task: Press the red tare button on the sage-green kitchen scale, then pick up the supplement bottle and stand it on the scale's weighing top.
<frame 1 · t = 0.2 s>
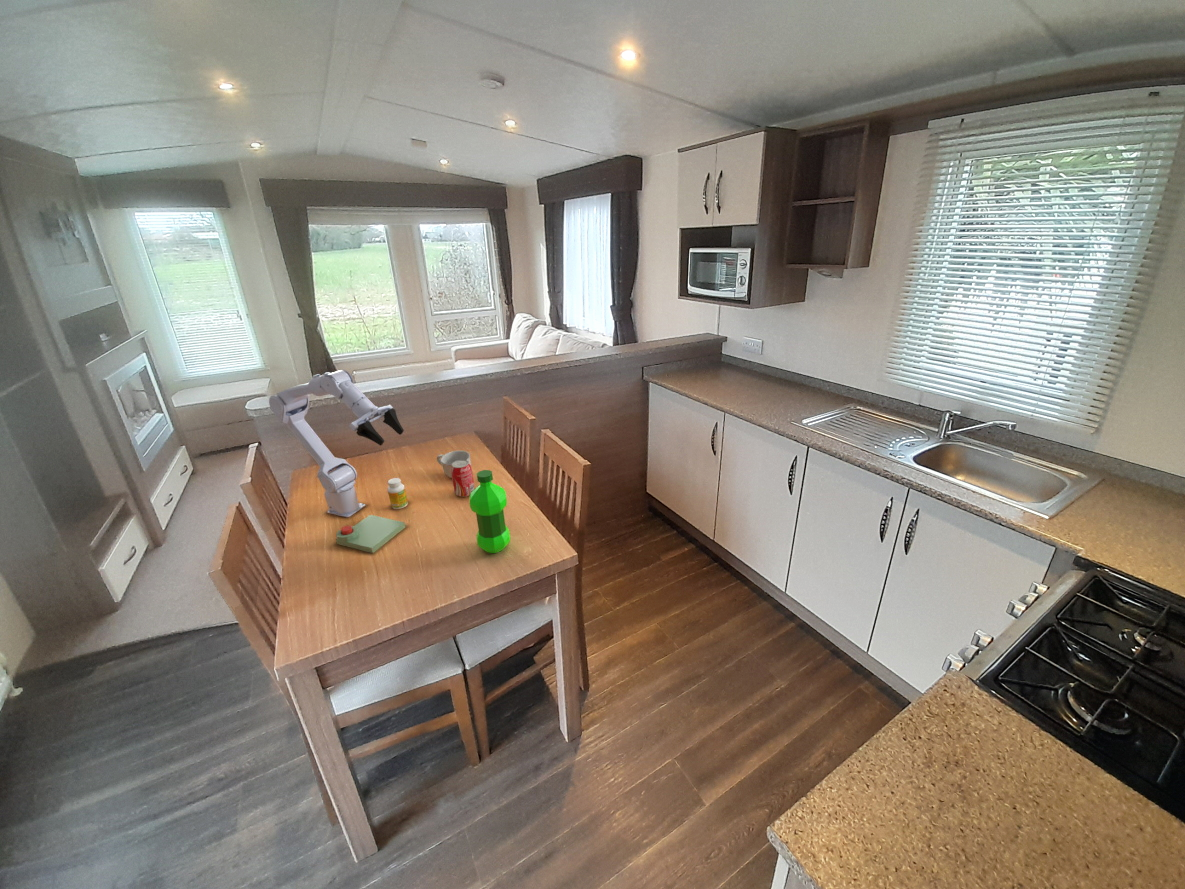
hand: (392, 437, 139), 31 cm above the table, tool tilted 45°, fingers open, 7 cm apart
supplement bottle: (400, 505, 164), on the table
plastic bottle: (495, 548, 141), on the table
tare button: (346, 530, 144), point 4 cm above the table, slide at 0.1 cm
soda can: (465, 493, 170), on the table
scale: (372, 535, 148), on the table
teacup: (455, 474, 183), on the table
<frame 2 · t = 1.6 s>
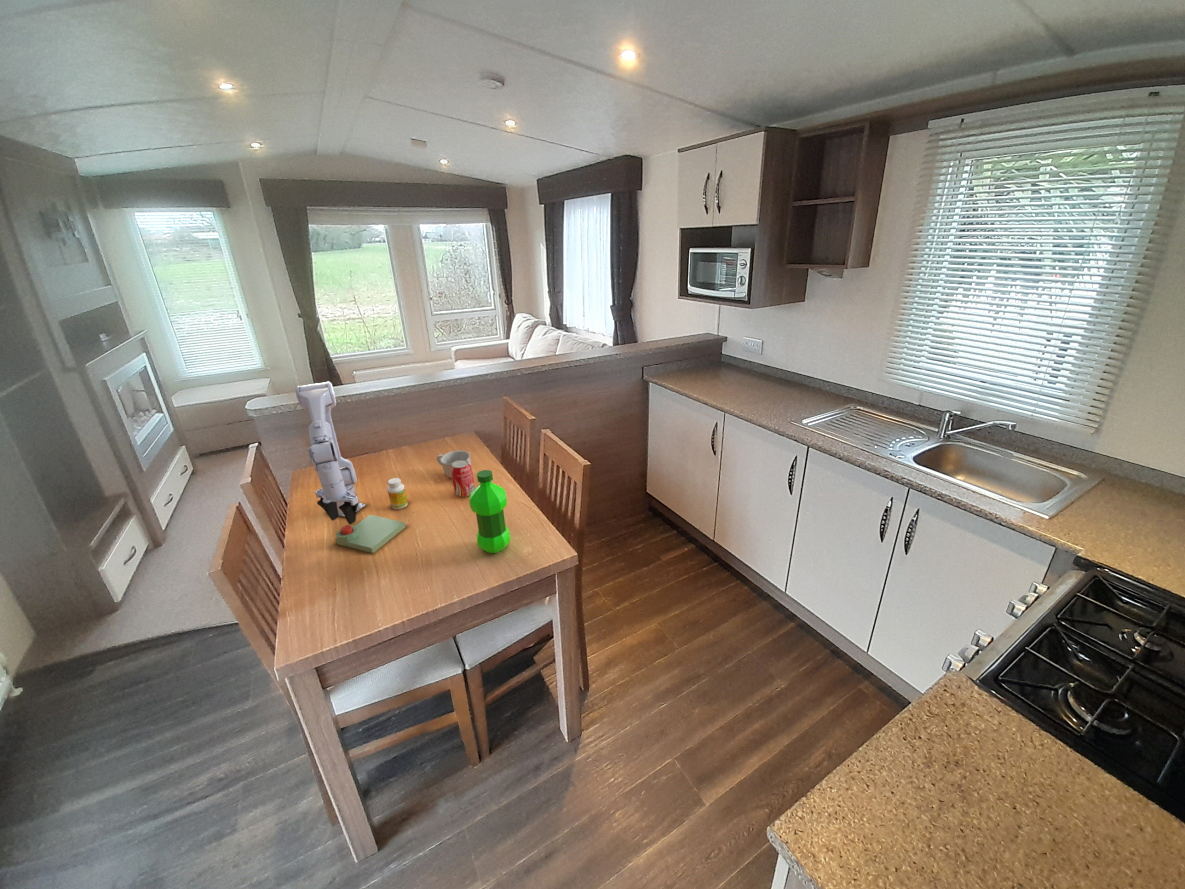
hand: (343, 520, 143), 8 cm above the table, tool pointing down, fingers open, 6 cm apart
nothing on the table moved.
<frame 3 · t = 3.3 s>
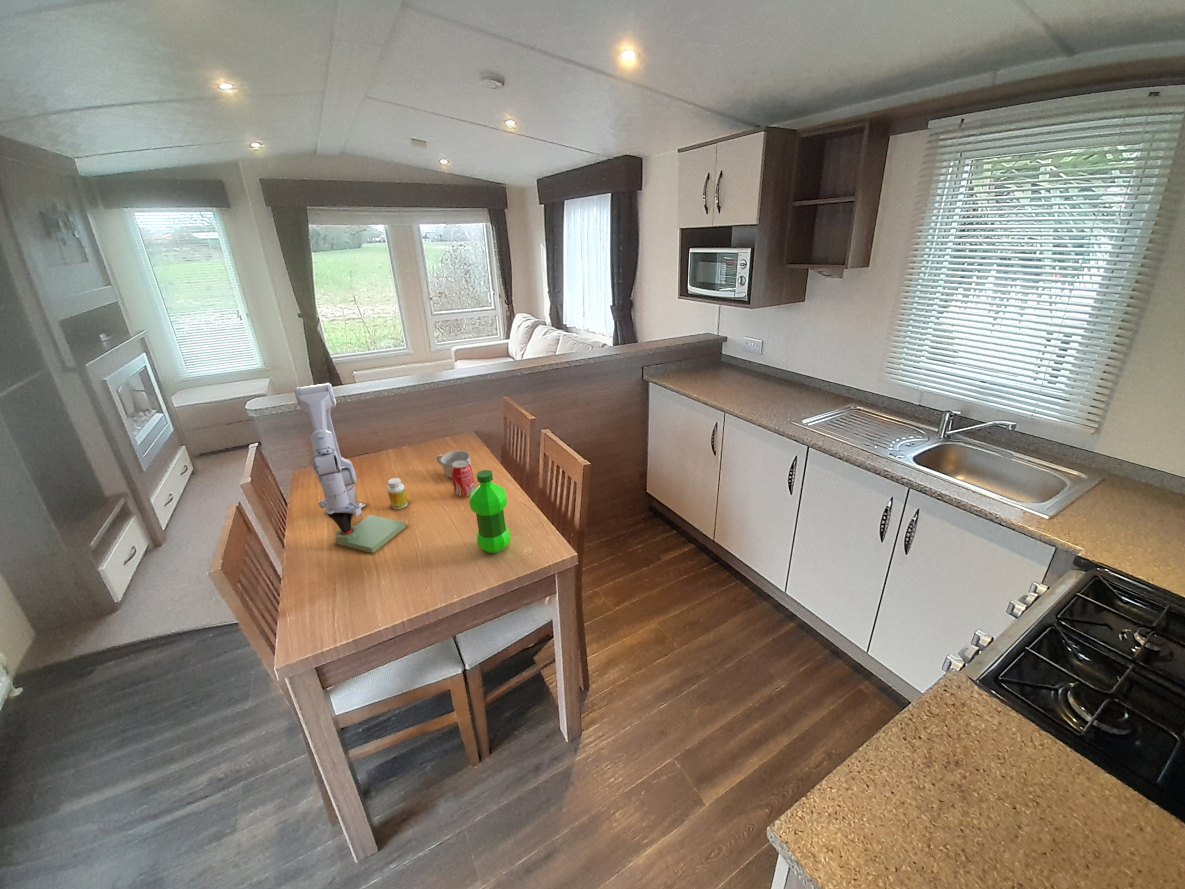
hand: (346, 530, 144), 4 cm above the table, tool pointing down, fingers closed, pressing on tare button
tare button: (347, 532, 145), point 3 cm above the table, slide at -0.7 cm, touching gripper
everything else where it was.
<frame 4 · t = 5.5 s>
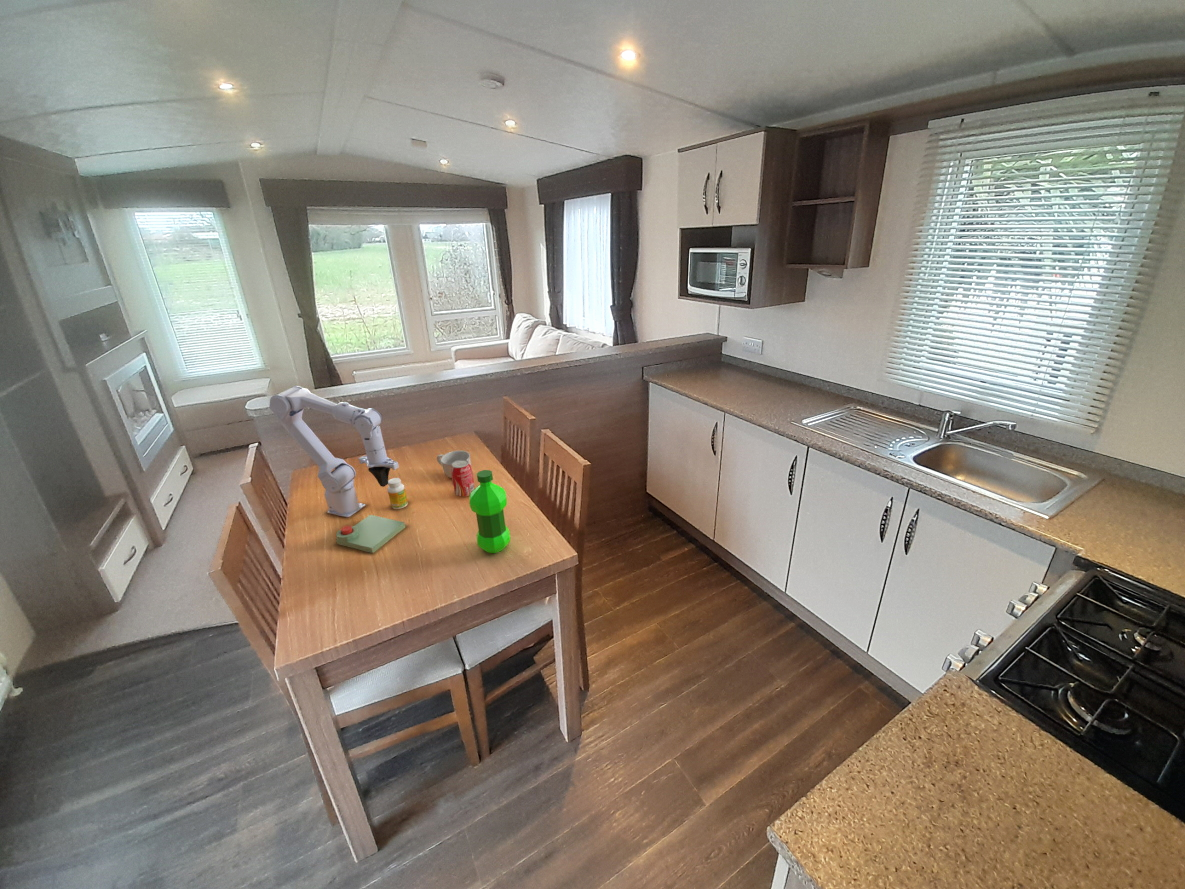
hand: (384, 485, 156), 10 cm above the table, tool pointing down, fingers closed
tare button: (346, 530, 144), point 4 cm above the table, slide at 0.1 cm
everything else where it was.
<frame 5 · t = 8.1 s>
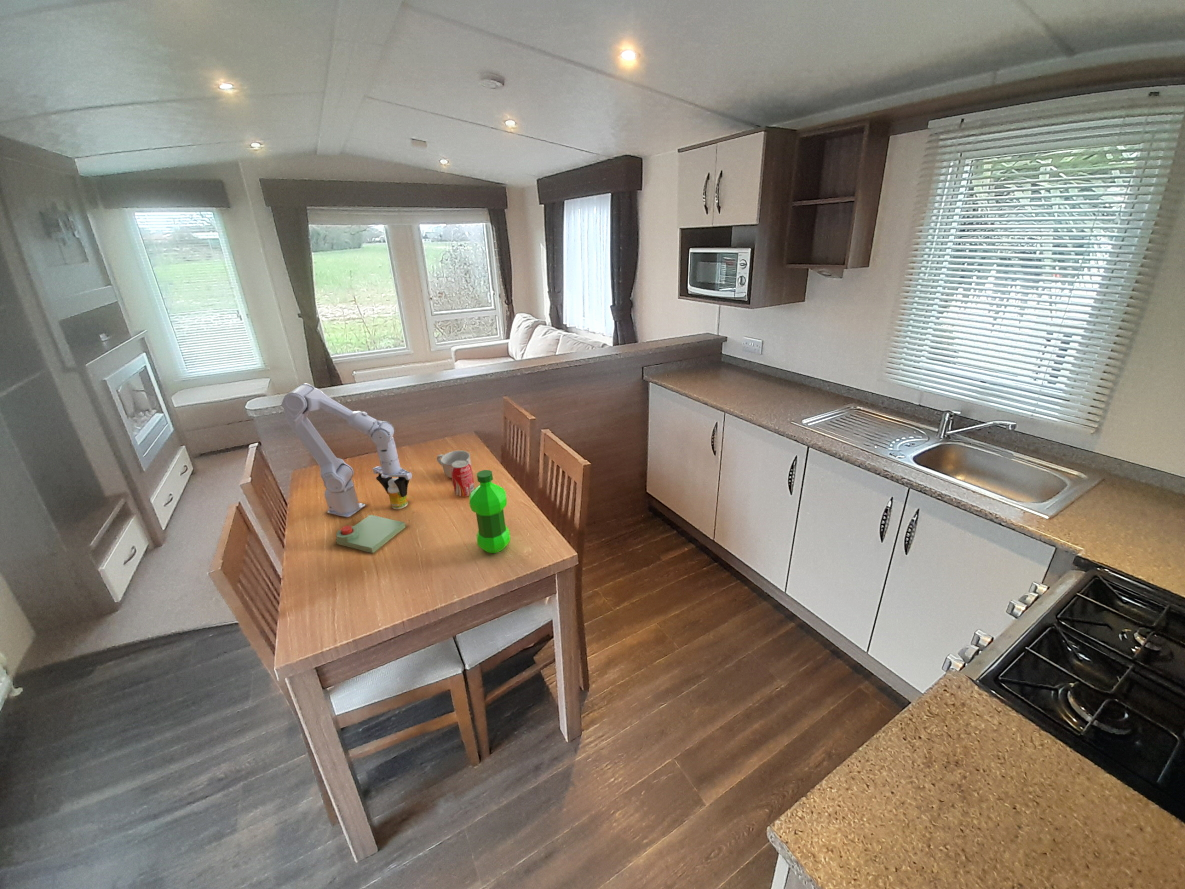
hand: (397, 494, 162), 4 cm above the table, tool pointing down, fingers closed on supplement bottle, 5 cm apart
supplement bottle: (400, 505, 164), on the table, touching gripper
everything else where it was.
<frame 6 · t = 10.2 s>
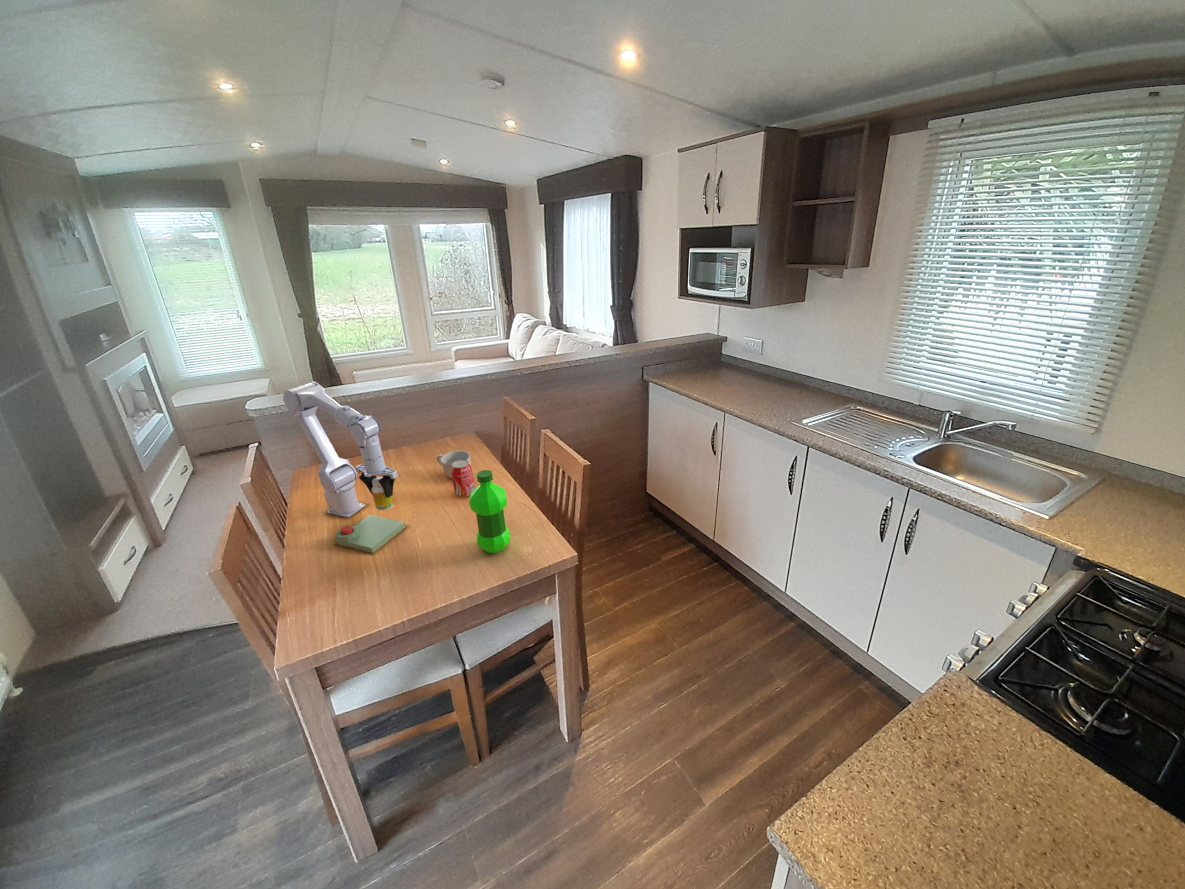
hand: (382, 494, 150), 10 cm above the table, tool pointing down, fingers closed on supplement bottle, 5 cm apart
supplement bottle: (385, 506, 152), point 6 cm above the table, touching gripper
everything else where it was.
when the fingers open (6 cm above the table, at t = 12.6 s): supplement bottle stays where it is, resting on scale.
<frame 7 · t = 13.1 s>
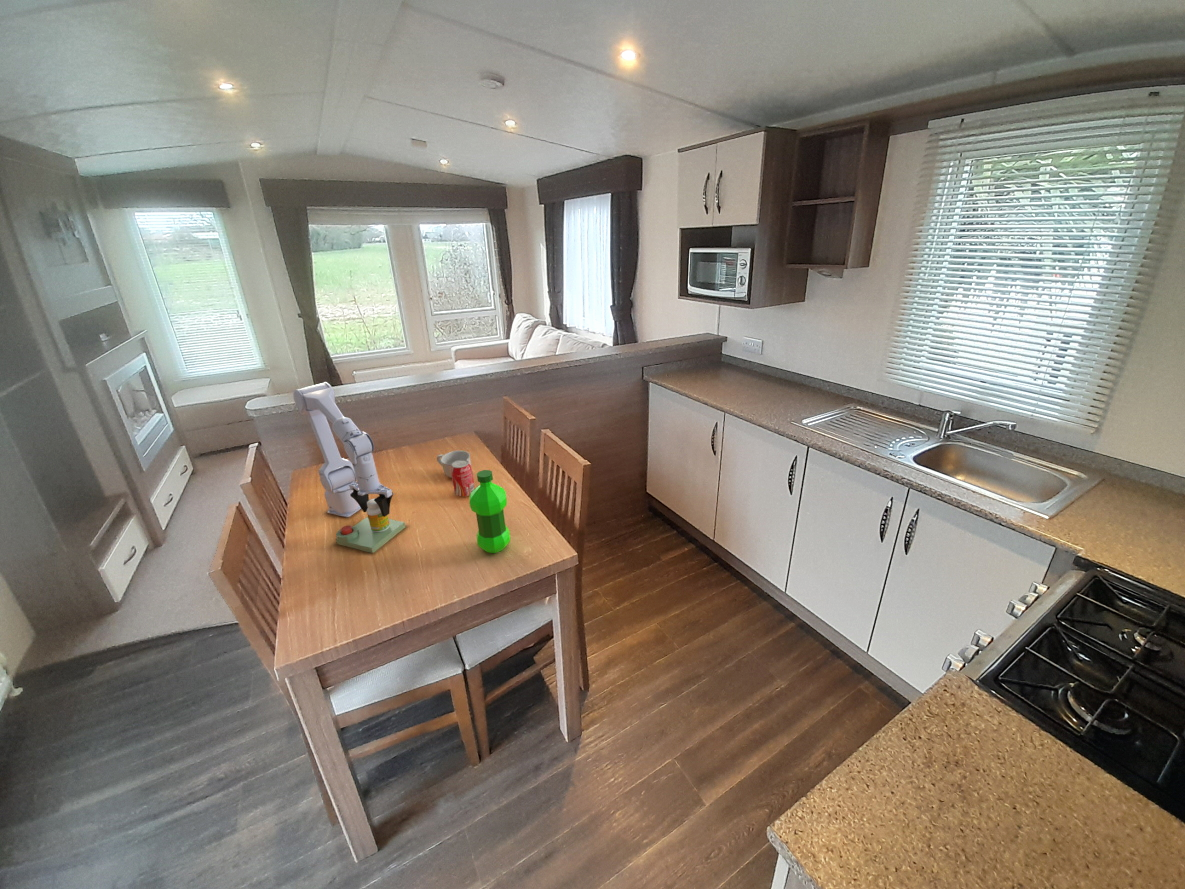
hand: (376, 512, 146), 8 cm above the table, tool pointing down, fingers open, 7 cm apart
supplement bottle: (380, 528, 149), point 2 cm above the table, touching scale
everything else where it was.
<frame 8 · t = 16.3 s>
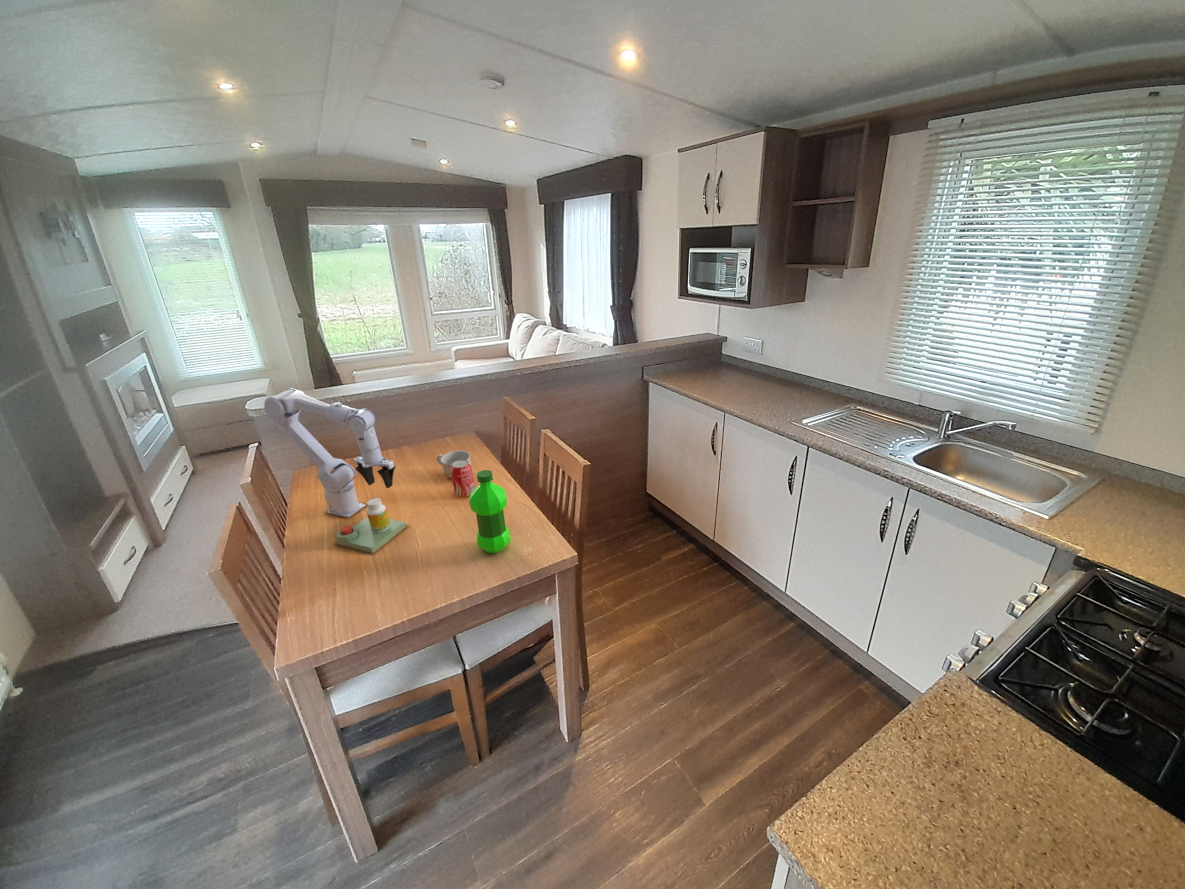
hand: (380, 485, 156), 10 cm above the table, tool pointing down, fingers open, 7 cm apart
nothing on the table moved.
at the end: tare button pushed in 1.0 cm at the most during the clip, back to where it started at the end; supplement bottle inside the target area on the scale (2.8 cm from its centre), point 1.7 cm above the scale's base; supplement bottle touching scale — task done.
